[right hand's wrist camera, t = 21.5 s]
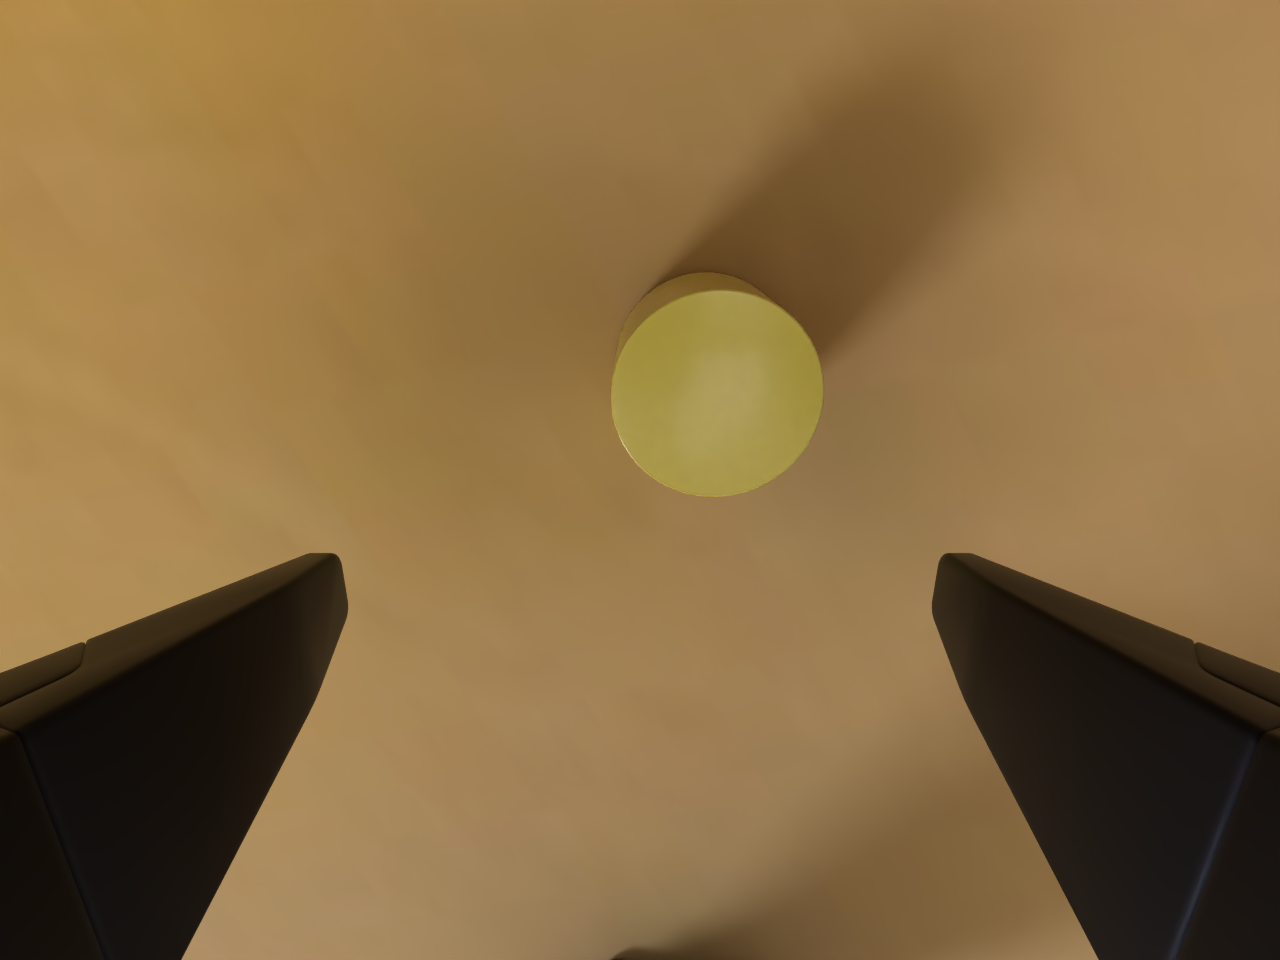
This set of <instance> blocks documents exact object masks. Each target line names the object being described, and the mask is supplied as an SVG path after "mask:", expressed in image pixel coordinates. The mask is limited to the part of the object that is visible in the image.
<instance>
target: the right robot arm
mask: <svg viewBox="0 0 1280 960" xmlns="http://www.w3.org/2000/svg"><path fill="white" fill-rule="evenodd" d="M932 613H933V618H934V621H935V624H936V626H937V629H938V632H939V634H940V637H941V640H942V642H943V645H944V648H945V650H946V653H947V656H948V658H949V661H950V664H951V666H952V669H953V672H954V675H955V677H956V680H957V683H958V685H959V688H960V690H961V693H962V695H963V697H964V700H965V702H966V704H967V706H968V708H969V710H970V712H971V714H972V716H973V718H974V720H975V722H976V724H977V726H978V728H979V730H980V732H981V734H982V736H983V737H984V739H985V741H986V743H987V745H988V747H989V749H990V751H991V753H992V755H993V757H994V759H995V761H996V763H997V764H998V766H999V768H1000V770H1001V772H1002V774H1003V776H1004V778H1005V780H1006V782H1007V784H1008V786H1009V788H1010V789H1011V791H1012V793H1013V795H1014V797H1015V799H1016V801H1017V803H1018V805H1019V807H1020V809H1021V811H1022V813H1023V815H1024V816H1025V818H1026V820H1027V822H1028V824H1029V826H1030V828H1031V830H1032V832H1033V834H1034V836H1035V838H1036V840H1037V842H1038V843H1039V845H1040V847H1041V849H1042V851H1043V853H1044V855H1045V857H1046V859H1047V861H1048V863H1049V865H1050V867H1051V869H1052V870H1053V872H1054V874H1055V876H1056V878H1057V880H1058V882H1059V884H1060V886H1061V888H1062V890H1063V892H1064V894H1065V896H1066V897H1067V899H1068V901H1069V903H1070V905H1071V907H1072V909H1073V911H1074V913H1075V915H1076V917H1077V919H1078V921H1079V923H1080V924H1081V926H1082V928H1083V930H1084V932H1085V934H1086V936H1087V938H1088V940H1089V942H1090V944H1091V946H1092V948H1093V950H1094V951H1095V953H1096V955H1097V957H1098V959H1099V960H1280V673H1278V672H1275V671H1273V670H1270V669H1267V668H1265V667H1262V666H1259V665H1257V664H1254V663H1251V662H1249V661H1246V660H1244V659H1241V658H1238V657H1236V656H1233V655H1230V654H1228V653H1225V652H1223V651H1220V650H1217V649H1215V648H1212V647H1210V646H1207V645H1205V644H1202V643H1199V642H1197V643H1195V644H1194V642H1193V640H1191V639H1189V638H1186V637H1184V636H1181V635H1179V634H1176V633H1174V632H1171V631H1169V630H1166V629H1163V628H1161V627H1158V626H1156V625H1153V624H1151V623H1148V622H1146V621H1143V620H1140V619H1138V618H1135V617H1133V616H1130V615H1128V614H1125V613H1123V612H1120V611H1117V610H1115V609H1112V608H1110V607H1107V606H1105V605H1102V604H1100V603H1097V602H1094V601H1092V600H1089V599H1087V598H1084V597H1082V596H1079V595H1077V594H1074V593H1071V592H1069V591H1066V590H1064V589H1061V588H1059V587H1056V586H1054V585H1051V584H1048V583H1046V582H1043V581H1041V580H1038V579H1036V578H1033V577H1031V576H1028V575H1025V574H1023V573H1020V572H1018V571H1015V570H1013V569H1010V568H1008V567H1005V566H1002V565H1000V564H997V563H995V562H992V561H990V560H987V559H985V558H982V557H979V556H977V555H974V554H971V553H947V554H944V555H943V556H942V557H941V559H940V561H939V564H938V569H937V575H936V581H935V587H934V593H933V599H932ZM347 614H348V599H347V593H346V587H345V581H344V575H343V569H342V564H341V561H340V559H339V557H338V556H337V555H336V554H333V553H309V554H306V555H303V556H301V557H298V558H295V559H293V560H290V561H288V562H285V563H283V564H280V565H278V566H275V567H272V568H270V569H267V570H265V571H262V572H260V573H257V574H255V575H252V576H249V577H247V578H244V579H242V580H239V581H237V582H234V583H232V584H229V585H226V586H224V587H221V588H219V589H216V590H214V591H211V592H209V593H206V594H203V595H201V596H198V597H196V598H193V599H191V600H188V601H186V602H183V603H180V604H178V605H175V606H173V607H170V608H168V609H165V610H163V611H160V612H157V613H155V614H152V615H150V616H147V617H145V618H142V619H140V620H137V621H134V622H132V623H129V624H127V625H124V626H122V627H119V628H117V629H114V630H111V631H109V632H106V633H104V634H101V635H99V636H96V637H94V638H91V639H89V640H87V642H86V644H85V643H83V642H81V643H78V644H75V645H73V646H70V647H68V648H65V649H63V650H60V651H58V652H55V653H52V654H50V655H47V656H44V657H42V658H39V659H37V660H34V661H31V662H29V663H26V664H23V665H21V666H18V667H15V668H13V669H10V670H7V671H5V672H2V673H0V960H181V959H182V957H183V955H184V953H185V951H186V950H187V948H188V946H189V944H190V942H191V940H192V938H193V936H194V934H195V932H196V930H197V928H198V926H199V924H200V923H201V921H202V919H203V917H204V915H205V913H206V911H207V909H208V907H209V905H210V903H211V901H212V899H213V897H214V896H215V894H216V892H217V890H218V888H219V886H220V884H221V882H222V880H223V878H224V876H225V874H226V872H227V870H228V869H229V867H230V865H231V863H232V861H233V859H234V857H235V855H236V853H237V851H238V849H239V847H240V845H241V843H242V842H243V840H244V838H245V836H246V834H247V832H248V830H249V828H250V826H251V824H252V822H253V820H254V818H255V817H256V815H257V813H258V811H259V809H260V807H261V805H262V803H263V801H264V799H265V797H266V795H267V793H268V791H269V790H270V788H271V786H272V784H273V782H274V780H275V778H276V776H277V774H278V772H279V770H280V768H281V766H282V764H283V763H284V761H285V759H286V757H287V755H288V753H289V751H290V749H291V747H292V745H293V743H294V741H295V739H296V737H297V736H298V734H299V732H300V730H301V728H302V726H303V724H304V722H305V720H306V718H307V716H308V714H309V712H310V710H311V708H312V706H313V704H314V702H315V700H316V697H317V695H318V693H319V690H320V688H321V685H322V683H323V680H324V677H325V675H326V672H327V669H328V667H329V664H330V661H331V658H332V656H333V653H334V650H335V648H336V645H337V642H338V640H339V637H340V634H341V632H342V629H343V626H344V624H345V621H346V618H347Z"/></svg>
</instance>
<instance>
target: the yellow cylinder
mask: <svg viewBox="0 0 1280 960" xmlns="http://www.w3.org/2000/svg"><path fill="white" fill-rule="evenodd" d="M823 399H824V378H823V372H822V367H821V362H820V359H819V357H818V354H817V351H816V349H815V347H814V345H813V343H812V341H811V339H810V337H809V336H808V334H807V333H806V331H805V330H804V328H803V327H802V326H801V325H800V324H799V323H798V322H797V320H796V319H795V318H794V317H793V316H792V315H790V314H789V313H788V312H787V311H785V310H784V309H783V308H782V307H780V306H779V305H778V304H776V303H775V302H774V301H772V300H771V299H770V298H769V297H767V296H766V295H765V294H763V293H762V292H761V291H759V290H758V289H757V288H755V287H754V286H752V285H750V284H749V283H747V282H745V281H743V280H741V279H739V278H736V277H733V276H730V275H726V274H721V273H714V272H698V273H691V274H686V275H682V276H679V277H676V278H673V279H671V280H669V281H666V282H664V283H663V284H661V285H659V286H658V287H656V288H654V289H653V290H652V291H651V292H649V293H648V294H647V295H646V296H645V297H644V298H643V299H642V300H641V301H640V302H639V303H638V304H637V305H636V306H635V308H634V309H633V311H632V312H631V313H630V315H629V317H628V318H627V320H626V322H625V324H624V326H623V329H622V331H621V334H620V337H619V341H618V346H617V351H616V358H615V364H614V370H613V377H612V385H611V409H612V415H613V421H614V424H615V427H616V430H617V433H618V435H619V438H620V440H621V442H622V444H623V446H624V447H625V449H626V450H627V452H628V454H629V455H630V456H631V458H632V459H633V460H634V461H635V462H636V464H637V465H638V466H639V467H640V468H641V469H643V470H644V471H645V472H646V473H647V474H648V475H650V476H651V477H652V478H654V479H655V480H657V481H658V482H660V483H662V484H664V485H666V486H667V487H669V488H672V489H675V490H677V491H680V492H683V493H687V494H691V495H696V496H705V497H723V496H730V495H736V494H740V493H744V492H748V491H750V490H753V489H755V488H758V487H760V486H762V485H764V484H766V483H768V482H770V481H772V480H773V479H775V478H776V477H777V476H779V475H780V474H782V473H783V472H784V471H785V470H786V469H788V468H789V467H790V466H791V465H792V464H793V463H794V462H795V461H796V460H797V458H798V457H799V456H800V455H801V454H802V452H803V451H804V450H805V448H806V447H807V445H808V444H809V442H810V440H811V438H812V436H813V434H814V432H815V430H816V428H817V425H818V422H819V419H820V416H821V411H822V407H823Z"/></svg>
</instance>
